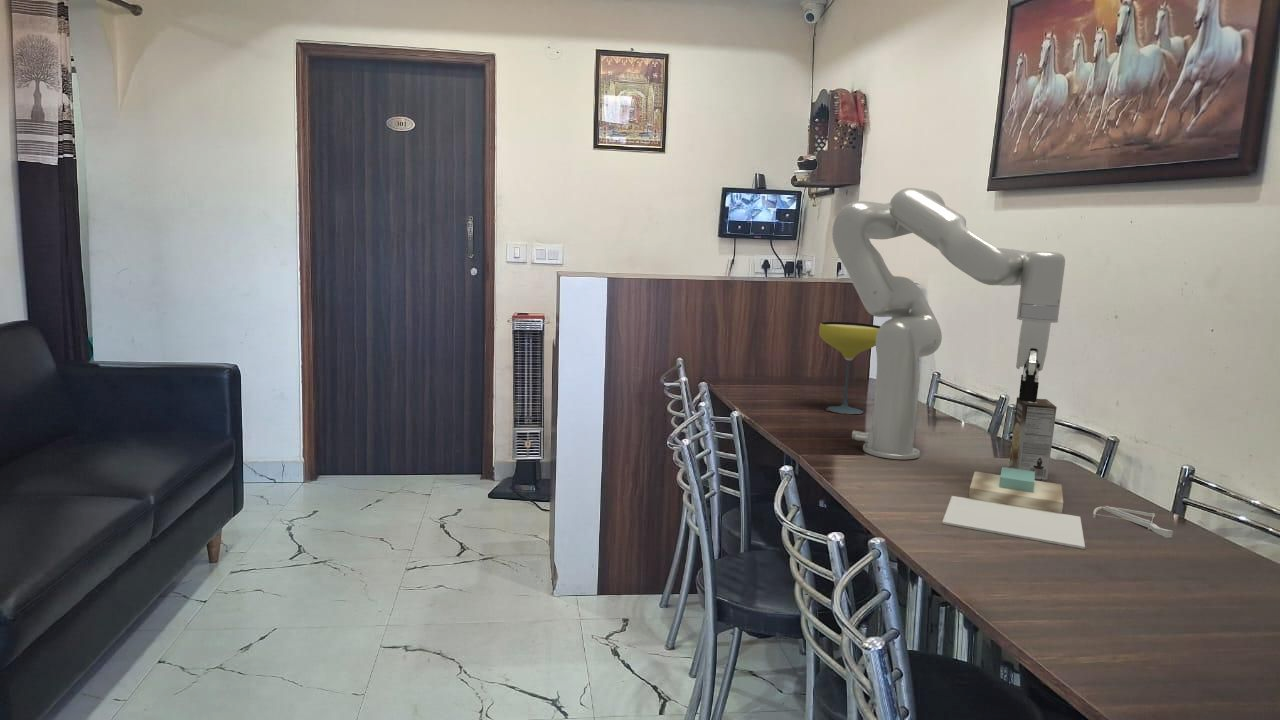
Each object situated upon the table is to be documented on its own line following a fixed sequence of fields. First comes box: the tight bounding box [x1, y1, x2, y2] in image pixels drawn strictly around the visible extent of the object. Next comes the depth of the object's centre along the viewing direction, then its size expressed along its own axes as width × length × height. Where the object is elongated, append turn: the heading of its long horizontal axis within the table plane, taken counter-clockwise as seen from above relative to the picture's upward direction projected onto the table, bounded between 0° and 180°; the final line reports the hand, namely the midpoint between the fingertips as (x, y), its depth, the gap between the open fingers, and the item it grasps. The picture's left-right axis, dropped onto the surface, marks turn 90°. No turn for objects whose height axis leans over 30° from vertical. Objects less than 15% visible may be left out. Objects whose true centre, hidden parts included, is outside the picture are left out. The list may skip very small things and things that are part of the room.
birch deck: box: [968, 471, 1064, 514], centre depth 165 cm, size 16×14×2 cm
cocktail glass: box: [818, 321, 881, 415], centre depth 244 cm, size 18×18×25 cm
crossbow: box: [1092, 505, 1174, 539], centre depth 154 cm, size 16×13×2 cm
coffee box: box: [1008, 396, 1058, 481], centre depth 184 cm, size 9×6×16 cm
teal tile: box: [999, 466, 1036, 492], centre depth 166 cm, size 6×9×2 cm, turn 155°
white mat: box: [941, 495, 1086, 550], centre depth 150 cm, size 22×18×1 cm
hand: (1027, 397), depth 173 cm, fingers open, 9 cm apart
